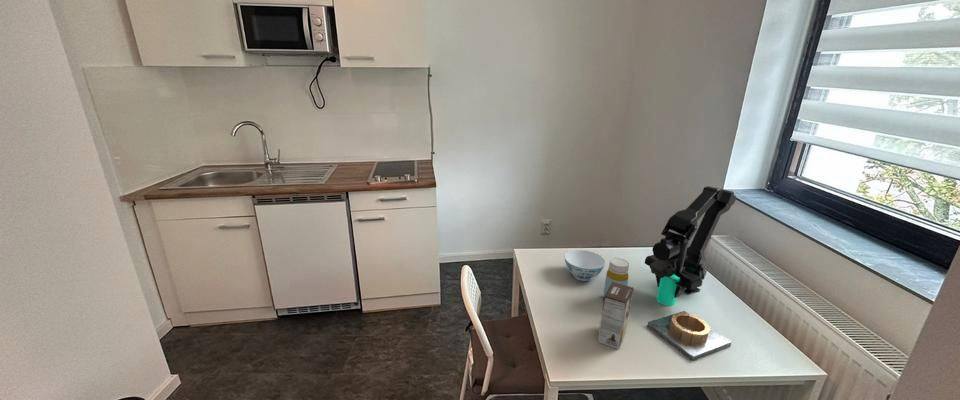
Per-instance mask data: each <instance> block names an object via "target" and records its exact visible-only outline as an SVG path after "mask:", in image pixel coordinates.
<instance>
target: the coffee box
mask: <svg viewBox="0 0 960 400" xmlns="http://www.w3.org/2000/svg"><path fill="white" fill-rule="evenodd" d="M634 290H635V288H634V287H632V286H629V285H627V286H626V285H622V284H618V283H614V282H612V283H611V285H610V287H609V289H608V290H607V292H606V294H605V296H604V298H603V301H602V302H603V304H602V309H601V317H600V322H599V323H600V324H599V331H598V337H597V343H600V344H603V345H604V346H605V345H606V346H608V347H611V348H613V349H616V350H619V349H620V348H621V346H622V343H623V340H624V339H625V335H626V334H627V327H628V323H629V319H630V317H629V316H630V312H631V306H632V300H633V295H634Z"/></svg>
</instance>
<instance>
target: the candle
mask: <svg viewBox="0 0 960 400" xmlns="http://www.w3.org/2000/svg"><path fill="white" fill-rule="evenodd" d="M679 280H680V278H679V277H677V276H676V275H672V276H670V277H667V276H665V277H664V278H661V279H660V283H659V287H657V288H658V289H657V294H656V297H655V298H656V301H657V302H658V303H659V304H662V305H663V306H668V307H672V306H675V304H676V301H677V300H676V299H677V298H675V291H676V286H677V285H676V284H675V282H678V281H679Z"/></svg>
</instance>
